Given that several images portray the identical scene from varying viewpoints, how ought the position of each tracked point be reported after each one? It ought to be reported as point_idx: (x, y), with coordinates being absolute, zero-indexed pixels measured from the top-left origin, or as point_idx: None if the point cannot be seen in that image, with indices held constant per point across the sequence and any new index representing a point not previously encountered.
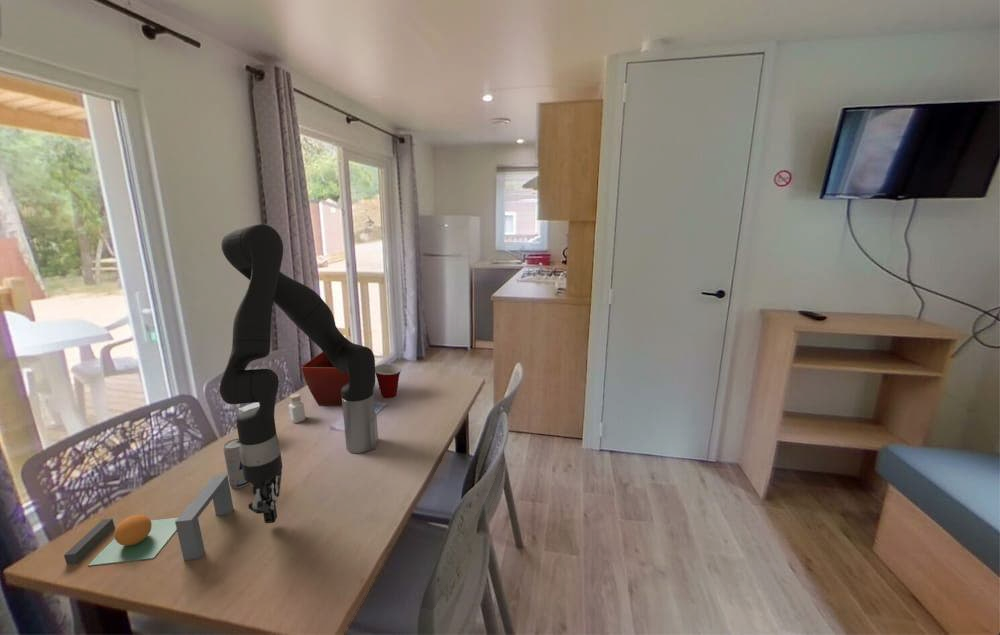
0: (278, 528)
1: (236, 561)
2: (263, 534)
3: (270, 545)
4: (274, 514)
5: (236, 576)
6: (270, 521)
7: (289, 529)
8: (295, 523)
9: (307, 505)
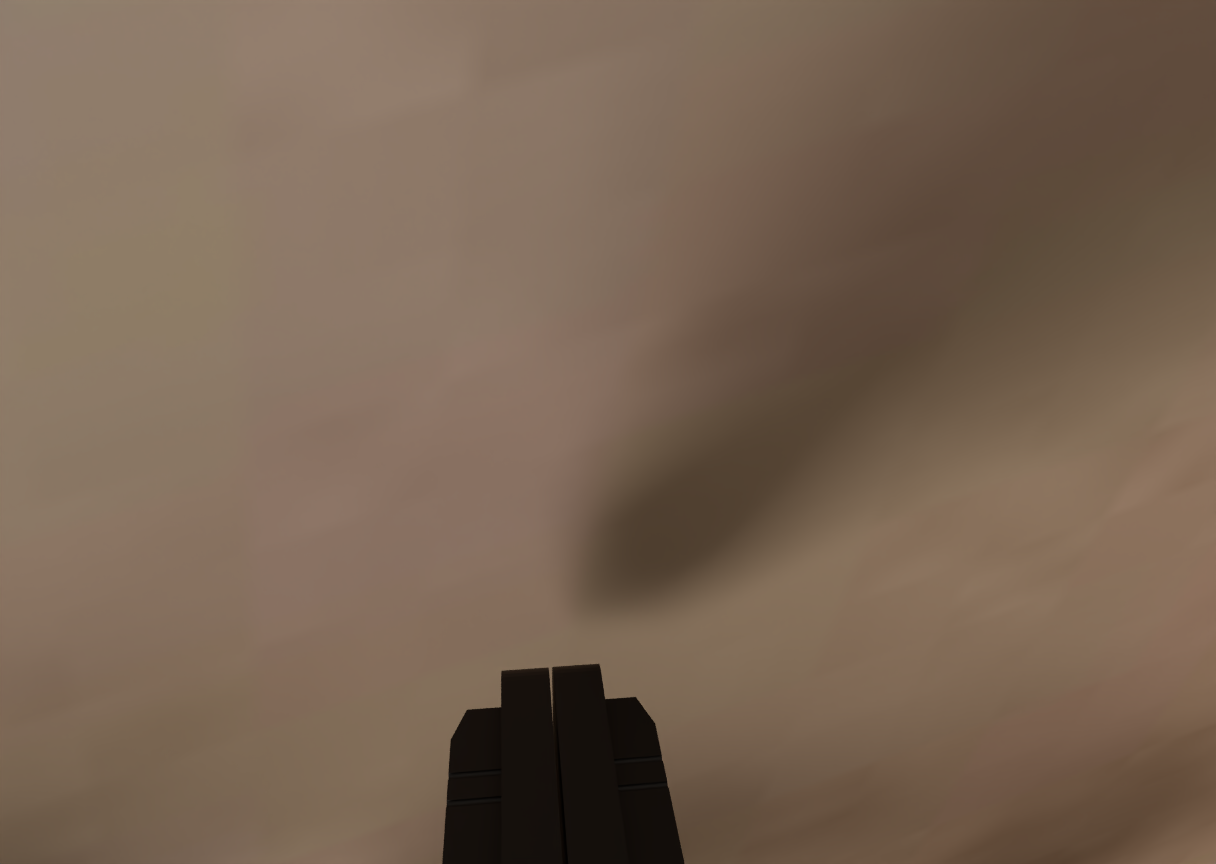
0: (603, 553)
1: (1002, 738)
2: (677, 668)
3: (897, 533)
4: (597, 763)
5: (1205, 665)
6: (643, 725)
7: (655, 408)
8: (534, 364)
9: (58, 304)
